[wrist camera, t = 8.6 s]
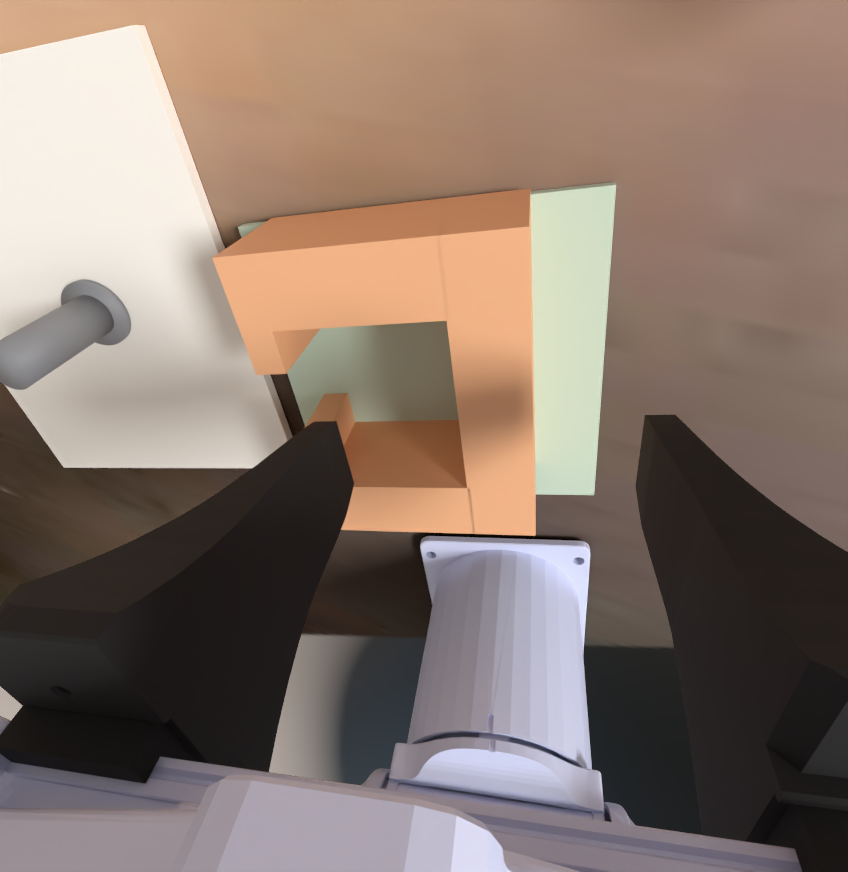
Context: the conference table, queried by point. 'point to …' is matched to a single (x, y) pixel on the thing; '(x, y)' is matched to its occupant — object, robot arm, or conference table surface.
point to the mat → (552, 345)
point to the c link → (410, 303)
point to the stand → (117, 270)
